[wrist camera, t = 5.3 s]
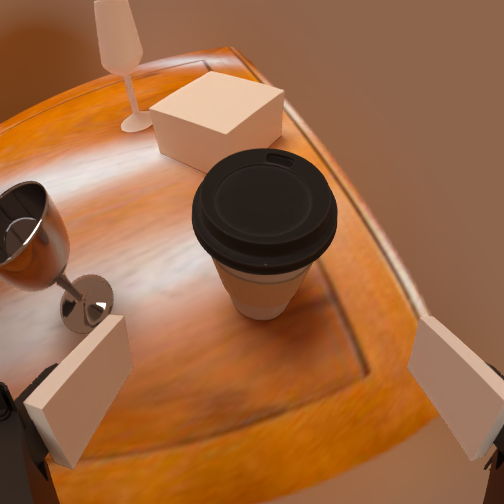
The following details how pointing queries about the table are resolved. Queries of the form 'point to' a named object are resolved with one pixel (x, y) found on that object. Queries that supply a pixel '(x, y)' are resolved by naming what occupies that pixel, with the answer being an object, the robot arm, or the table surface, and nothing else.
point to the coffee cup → (264, 225)
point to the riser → (217, 119)
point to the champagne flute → (121, 52)
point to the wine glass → (46, 256)
